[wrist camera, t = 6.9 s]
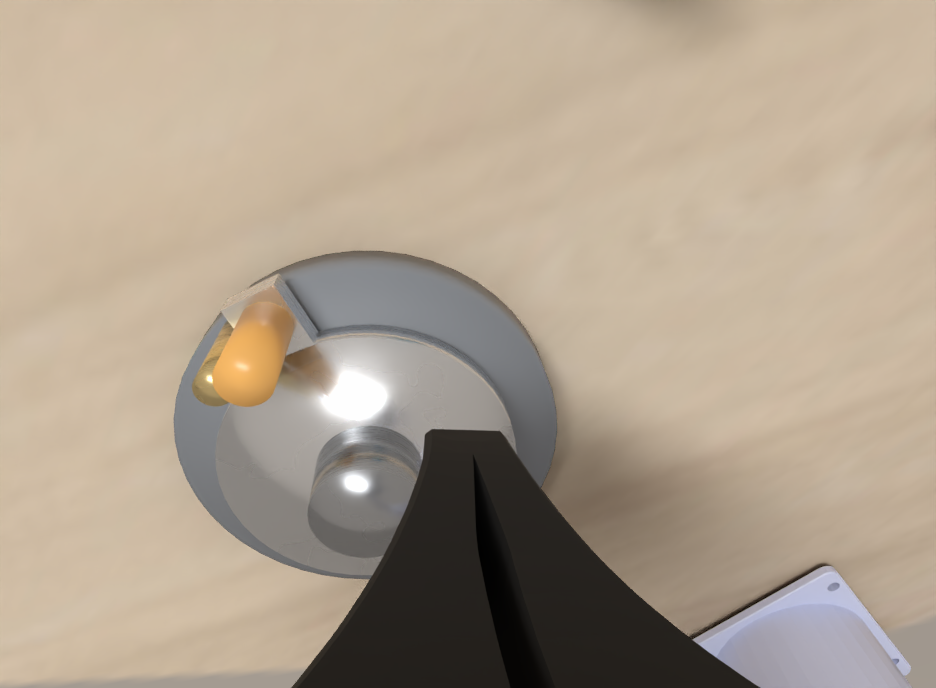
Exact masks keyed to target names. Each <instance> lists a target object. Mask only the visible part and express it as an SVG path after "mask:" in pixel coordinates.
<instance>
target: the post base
mask: <svg viewBox="0 0 936 688" xmlns="http://www.w3.org/2000/svg"><path fill="white" fill-rule="evenodd" d="M278 273H279V274H280V276H281V277H282V279H283V280H284V282H285V283H286V285H287V286H288V288H289V289H290V291H291V292H292V293H293V295H294V296H295V298H296V299H297V301H298V302H299V304H300V305H301V307H302V308H303V310H304V311H305V313H306V314H307V316H308V317H309V319H310V320H311V322H312V323H313V325H314V326H315V328H316V329H317V330H318V331H322V330H326V329H330V328H336V327H343V326H350V325H382V326H392V327H398V328H403V329H407V330H412V331H416V332H419V333H422V334H425V335H428V336H431V337H433V338H435V339H438V340H440V341H442V342H444V343H446V344H448V345H450V346H452V347H453V348H455V349H456V350H458V351H459V352H461V353H462V354H464V355H466V356H467V357H468V358H469V359H470V360H472V361H473V362H474V363H475V364H476V365H477V366H479V367H480V368H481V369H482V370H483V372H484V373H485V374H486V375H487V376H488V377H489V378H490V380H491V381H492V382H493V384H494V385H495V387H496V388H497V390H498V391H499V393H500V394H501V396H502V399H503V401H504V403H505V405H506V408H507V410H508V414H509V417H510V421H511V425H512V429H513V433H514V437H515V442H516V452H517V455H518V457H519V458H520V460H521V461H522V463H523V464H524V466H525V467H526V469H527V470H528V471H529V473H530V474H531V476H532V477H533V478H534V480H535V481H536V483H537V484H538V485H539V487H540V488H541V487H542V484H543V482H544V480H545V478H546V475H547V473H548V471H549V469H550V465H551V461H552V458H553V454H554V451H555V443H556V435H557V419H556V407H555V402H554V397H553V392H552V389H551V386H550V384H549V381H548V378H547V376H546V373H545V370H544V368H543V365H542V362H541V359H540V357H539V354H538V351H537V349H536V347H535V345H534V343H533V341H532V339H531V338H530V336H529V334H528V332H527V331H526V329H525V328H524V326H523V325H522V324H521V322H520V321H519V320H518V319H517V317H516V316H515V315H514V313H513V312H512V311H511V310H510V309H509V308H508V307H507V306H506V305H505V304H504V303H503V302H502V301H501V300H500V299H499V298H498V297H497V296H495V295H494V294H493V293H491V292H490V291H489V290H487V289H486V288H484V287H483V286H482V285H480V284H479V283H478V282H476V281H474V280H472V279H471V278H469V277H467V276H465V275H463V274H461V273H460V272H458V271H456V270H454V269H451V268H449V267H446V266H443V265H441V264H438V263H436V262H433V261H430V260H426V259H422V258H418V257H414V256H411V255H407V254H399V253H391V252H383V251H349V252H341V253H333V254H326V255H322V256H318V257H314V258H310V259H306V260H302V261H299V262H296V263H294V264H291V265H289V266H286V267H284V268H281V269H279V270H276V271H275V272H273V273H271V274H269V275H268V276H266V277H264V278H262V279H260V280H259V281H257V282H255V283H254V284H252V285H251V286H250V287H252V286H254V285H256V284H258V283H260V282H262V281H264V280H266V279H268V278H270V277H272V276H274V275H276V274H278ZM250 287H249V288H250ZM247 289H248V288H247ZM233 330H234V329H233V327H232V326H231V325H230V323H229V322H228V321H227V319H226V318H225V317H224V315H223V314H222V313H220V314H219V315H218V317H217V318H216V320H215V321H214V322H213V324H212V325H211V327H210V328H209V329H208V331H207V332H206V334H205V336H204V337H203V339H202V341H201V343H200V344H199V346H198V348H197V349H196V351H195V353H194V355H193V356H192V358H191V360H190V362H189V364H188V367H187V369H186V371H185V373H184V375H183V377H182V380H181V384H180V387H179V390H178V394H177V397H176V404H175V413H174V433H175V443H176V447H177V452H178V457H179V461H180V463H181V466H182V468H183V471H184V473H185V476H186V479H187V481H188V482H189V484H190V486H191V488H192V489H193V491H194V493H195V494H196V496H197V498H198V499H199V500H200V502H201V503H202V504H203V506H204V507H205V508H206V509H207V511H208V512H209V513H210V514H211V515H212V516H213V517H214V518H215V519H216V520H217V521H218V522H219V523H220V524H221V525H222V526H223V527H224V528H225V529H226V530H227V531H228V532H230V533H231V534H232V535H234V536H235V537H236V538H238V539H239V540H240V541H241V542H243V543H244V544H246V545H248V546H249V547H251V548H253V549H254V550H256V551H258V552H259V553H261V554H263V555H265V556H268V557H270V558H272V559H274V560H276V561H278V562H280V563H283V564H286V565H289V566H292V567H295V568H298V569H300V570H304V571H308V572H313V573H317V574H321V575H326V576H334V577H341V578H354V579H370V578H371V577H372V575H348V574H341V573H333V572H329V571H324V570H320V569H316V568H313V567H310V566H307V565H304V564H301V563H298V562H296V561H294V560H291V559H289V558H287V557H285V556H283V555H281V554H279V553H278V552H276V551H274V550H273V549H271V548H269V547H268V546H266V545H265V544H264V543H262V542H261V541H260V540H258V539H257V538H256V537H255V536H254V535H253V534H252V533H251V532H249V531H248V530H247V529H246V528H245V527H244V526H243V525H242V523H241V522H240V521H239V519H238V518H237V517H236V516H235V514H234V513H233V512H232V510H231V508H230V506H229V505H228V503H227V501H226V499H225V497H224V495H223V492H222V490H221V487H220V484H219V481H218V476H217V471H216V459H215V450H216V442H217V435H218V432H219V429H220V426H221V423H222V420H223V417H224V415H225V413H226V410H227V408H228V405H229V402H227V401H226V400H224V399H223V398H222V397H221V396H220V395H219V394H218V393H217V392H216V390H215V388H214V386H213V383H212V372H213V369H214V367H215V365H216V363H217V361H218V359H219V357H220V355H221V353H222V351H223V349H224V347H225V345H226V343H227V342H228V340H229V338H230V336H231V334H232V332H233Z"/></svg>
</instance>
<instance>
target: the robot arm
mask: <svg viewBox="0 0 936 688" xmlns="http://www.w3.org/2000/svg"><path fill="white" fill-rule="evenodd" d="M910 670H911V666H910V665H909V663H908V662H907V661H906V659H905V658H904V657H903V655H902V654H901V653H900V652H899V650H898V649H897V648H896V646H895V645H894V644H893V643H892V641H891V640H890V639H889V638H888V636H887V635H886V634H885V632H884V631H883V630H882V628H881V627H880V626H879V625H878V623H877V622H876V621H875V619H874V618H873V617H872V616H871V614H870V613H869V612H868V610H867V609H866V608H865V607H864V605H863V604H862V603H861V601H860V600H859V599H858V598H857V596H856V595H855V594H854V592H853V591H852V590H851V589H850V587H849V586H848V585H847V584H846V582H845V581H844V580H843V578H842V577H841V576H840V575H839V573H838V572H837V571H836V569H835V568H833V567H832V566H823V567H821V568H818V569H817V570H815V571H813V572H811V573H809V574H808V575H806V576H804V577H802V578H801V579H799V580H797V581H795V582H794V583H792V584H790V585H788V586H786V587H785V588H783V589H781V590H779V591H778V592H776V593H774V594H772V595H770V596H769V597H767V598H765V599H763V600H762V601H760V602H758V603H756V604H754V605H753V606H751V607H749V608H747V609H746V610H744V611H742V612H740V613H738V614H737V615H735V616H733V617H731V618H730V619H728V620H726V621H724V622H723V623H721V624H719V625H717V626H715V627H714V628H712V629H710V630H708V631H707V632H705V633H703V634H701V635H699V636H698V637H696V638H694V639H691V638H689V637H688V636H687V635H685V634H684V633H683V632H682V631H680V630H679V629H678V628H677V627H675V626H674V625H673V624H672V623H671V622H669V621H668V620H667V619H666V618H664V617H663V616H662V615H661V614H659V613H658V612H657V611H656V610H655V609H653V608H652V607H651V606H650V605H649V604H647V603H646V602H645V601H644V600H643V599H642V598H641V597H639V596H638V595H637V594H636V593H635V592H634V591H633V590H632V589H630V588H629V587H628V586H627V585H626V584H625V583H624V582H623V581H622V580H621V579H620V578H619V577H618V576H617V575H616V574H615V573H614V572H613V571H612V570H611V569H610V568H609V567H608V566H607V565H606V564H605V563H604V562H603V561H602V560H601V559H600V558H599V557H598V556H597V555H596V554H595V553H594V552H593V551H592V550H591V549H590V547H589V546H588V545H587V544H586V543H585V542H584V541H583V540H582V538H581V537H580V536H579V535H578V534H577V533H576V532H575V531H574V529H573V528H572V527H571V526H570V525H569V523H568V522H567V521H566V520H565V519H564V517H563V516H562V515H561V514H560V512H559V511H558V510H557V509H556V507H555V506H554V505H553V504H552V502H551V501H550V500H549V498H548V497H547V496H546V495H545V493H544V492H543V491H542V489H541V488H540V487H539V485H538V484H537V483H536V481H535V480H534V478H533V477H532V476H531V474H530V473H529V471H528V470H527V469H526V467H525V466H524V464H523V463H522V461H521V460H520V458H519V457H518V455H517V454H516V452H515V451H514V449H513V448H512V446H511V445H510V443H509V442H508V440H507V439H506V437H505V436H504V435H503V434H502V432H501V431H487V430H451V429H431V430H430V431H428V432H427V433H426V434H425V437H424V450H423V460H422V464H421V467H420V471H419V474H418V478H417V481H416V483H415V486H414V489H413V492H412V494H411V497H410V500H409V502H408V505H407V507H406V510H405V512H404V514H403V517H402V519H401V521H400V523H399V525H398V527H397V529H396V532H395V534H394V536H393V538H392V540H391V542H390V544H389V546H388V548H387V550H386V552H385V554H384V556H383V557H382V559H381V561H380V563H379V565H378V566H377V568H376V570H375V572H374V573H373V575H372V577H371V578H370V580H369V582H368V584H367V585H366V587H365V588H364V590H363V592H362V593H361V595H360V596H359V598H358V599H357V601H356V602H355V604H354V605H353V607H352V608H351V610H350V611H349V613H348V614H347V616H346V617H345V619H344V620H343V622H342V623H341V625H340V626H339V627H338V629H337V630H336V632H335V633H334V634H333V636H332V637H331V639H330V640H329V641H328V642H327V644H326V645H325V646H324V647H323V649H322V650H321V651H320V653H319V654H318V655H317V656H316V658H315V659H314V660H313V661H312V663H311V664H310V665H309V666H308V668H307V669H306V670H305V672H304V673H303V674H302V675H301V677H300V678H299V679H298V680H297V682H296V683H295V684H294V685H293V686H292V688H912V686H911V685H910V684H909V682H908V681H907V680H906V678H905V677H904V676H905V675H907V674H908V673H909V672H910Z"/></svg>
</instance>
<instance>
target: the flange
mask: <svg viewBox="0 0 936 688" xmlns="http://www.w3.org/2000/svg"><path fill="white" fill-rule="evenodd" d="M221 313H222V314H223V315H224V317H225V318H226V319H227V321H228V322H229V323H230V325H231V326H232V327H233V329H234V330H233V332H232V334H231V336H230V338H229V340H228V342H227V343H226V345H225V347H224V349H223V351H222V353H221V355H220V357H219V359H218V361H217V363H216V365H215V367H214V369H213V372H212V383H213V386H214V388H215V390H216V392H217V393H218V394H219V395H220V396H221V397H222V398H223V399H224V400H226V401H227V402H229V405H228V408H227V410H226V413H225V415H224V417H223V420H222V423H221V426H220V429H219V432H218V435H217V442H216V450H215V459H216V471H217V476H218V481H219V484H220V487H221V490H222V492H223V495H224V497H225V499H226V501H227V503H228V505H229V506H230V508H231V510H232V512H233V513H234V514H235V516H236V517H237V518H238V519H239V521H240V522H241V523H242V525H243V526H244V527H245V528H246V529H247V530H248V531H249V532H251V533H252V534H253V535H254V536H255V537H256V538H257V539H258V540H260V541H261V542H262V543H264V544H265V545H266V546H268V547H269V548H271V549H273V550H274V551H276V552H278V553H279V554H281V555H283V556H285V557H287V558H289V559H291V560H294V561H296V562H298V563H301V564H304V565H307V566H310V567H313V568H316V569H320V570H324V571H329V572H333V573H341V574H348V575H373V573H374V572H375V570H376V568H377V566H378V565H379V563H380V561H381V559H382V557H383V556H384V554H385V552H386V550H387V548H388V546H389V544H390V542H391V540H392V538H393V536H394V534H395V532H396V529H397V527H398V525H399V523H400V521H401V519H402V517H403V514H404V512H405V510H406V507H407V505H408V502H409V500H410V497H411V494H412V492H413V489H414V486H415V483H416V481H417V478H418V474H419V471H420V467H421V464H422V460H423V450H424V437H425V434H426V433H427V432H428V431H430V430H431V429H451V430H487V431H501V432H502V434H503V435H504V436H505V437H506V439H507V440H508V442H509V443H510V445H511V446H512V448H513V449H514V451H515V452H516V442H515V437H514V433H513V429H512V425H511V421H510V417H509V414H508V410H507V408H506V405H505V403H504V401H503V399H502V396H501V394H500V393H499V391H498V390H497V388H496V387H495V385H494V384H493V382H492V381H491V380H490V378H489V377H488V376H487V375H486V374H485V373H484V372H483V370H482V369H481V368H480V367H479V366H477V365H476V364H475V363H474V362H473V361H472V360H470V359H469V358H468V357H467V356H466V355H464V354H462V353H461V352H459V351H458V350H456V349H455V348H453V347H452V346H450V345H448V344H446V343H444V342H442V341H440V340H438V339H435V338H433V337H431V336H428V335H425V334H422V333H419V332H416V331H412V330H407V329H403V328H398V327H392V326H382V325H350V326H343V327H336V328H330V329H326V330H322V331H318V330H317V329H316V328H315V326H314V325H313V323H312V322H311V320H310V319H309V317H308V316H307V314H306V313H305V311H304V310H303V308H302V307H301V305H300V304H299V302H298V301H297V299H296V298H295V296H294V295H293V293H292V292H291V291H290V289H289V288H288V286H287V285H286V283H285V282H284V280H283V279H282V277H281V276H280V274H279V273H278V274H276V275H274V276H272V277H270V278H268V279H266V280H264V281H262V282H260V283H258V284H256V285H254V286H252V287H250V288H248V289H246V290H244V291H242V292H240V293H238V294H236V295H234V296H232V297H230V298H228V299H227V301H226V302H225V304H224V306H223V308H222V309H221ZM516 454H517V452H516Z"/></svg>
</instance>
